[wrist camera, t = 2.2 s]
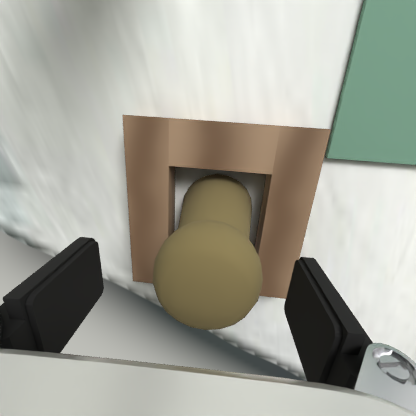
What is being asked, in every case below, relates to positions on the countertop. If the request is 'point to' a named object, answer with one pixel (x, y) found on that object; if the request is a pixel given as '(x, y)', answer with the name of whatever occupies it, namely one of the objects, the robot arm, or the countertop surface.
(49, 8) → the countertop surface
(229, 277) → the cork
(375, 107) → the mat
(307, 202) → the socket
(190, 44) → the countertop surface
